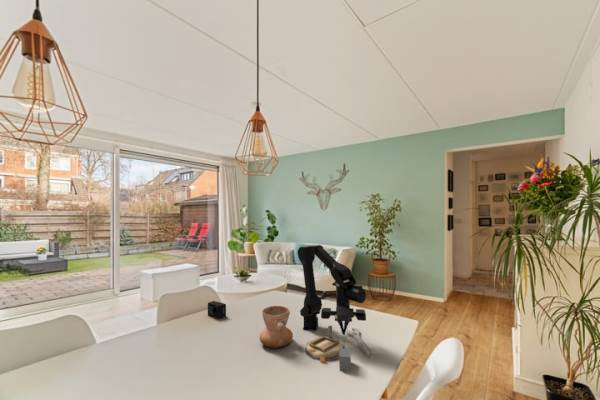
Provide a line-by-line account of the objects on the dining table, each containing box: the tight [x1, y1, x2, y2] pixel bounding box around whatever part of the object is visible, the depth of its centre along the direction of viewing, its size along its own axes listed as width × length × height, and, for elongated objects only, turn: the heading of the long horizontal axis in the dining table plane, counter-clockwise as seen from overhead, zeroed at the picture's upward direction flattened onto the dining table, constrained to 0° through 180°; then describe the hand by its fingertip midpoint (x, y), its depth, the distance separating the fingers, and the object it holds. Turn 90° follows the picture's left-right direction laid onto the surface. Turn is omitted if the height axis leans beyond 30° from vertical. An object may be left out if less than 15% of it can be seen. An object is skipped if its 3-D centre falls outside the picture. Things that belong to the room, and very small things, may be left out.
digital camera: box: [207, 300, 227, 320], centre depth 151 cm, size 10×5×7 cm, turn 56°
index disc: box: [305, 325, 344, 359], centre depth 112 cm, size 15×15×6 cm
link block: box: [338, 347, 352, 372], centre depth 100 cm, size 4×6×5 cm, turn 170°
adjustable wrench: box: [345, 327, 375, 359], centre depth 117 cm, size 25×6×2 cm, turn 4°
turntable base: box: [304, 347, 339, 363], centre depth 111 cm, size 16×17×2 cm
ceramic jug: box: [259, 305, 294, 349], centre depth 120 cm, size 18×14×14 cm
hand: (343, 334), depth 117 cm, fingers closed
